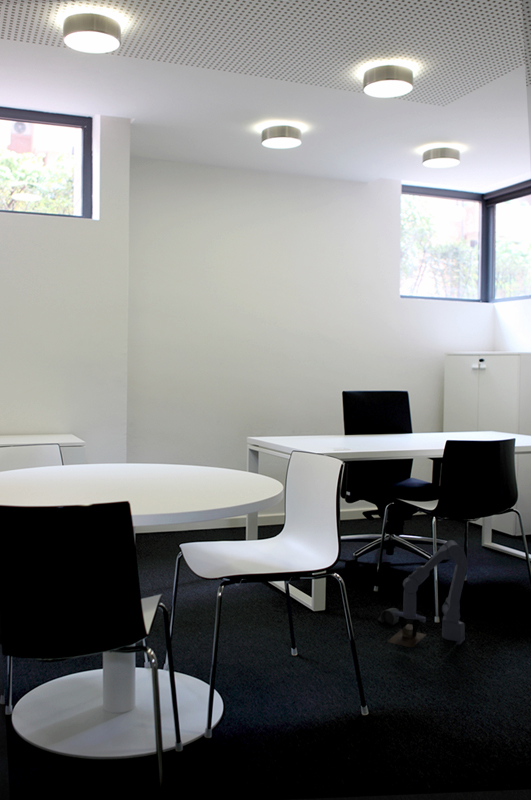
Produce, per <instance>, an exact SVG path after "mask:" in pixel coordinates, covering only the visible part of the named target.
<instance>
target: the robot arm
mask: <svg viewBox="0 0 531 800" xmlns="http://www.w3.org/2000/svg"><path fill="white" fill-rule="evenodd" d="M450 558H451V559H453V561H454V562H455V566H454V571H453V575H452V579H451V583H450V587H449V592H448V597H446V599H445V602H444V603H443V604H442V606H441V612H442V614H443V616H442V624H441V625H442V626H441V627H442V628H441V629H442V630H441V632H442V633H441V637H442V638H443V639H444V640H448V641H455V645H461V644H462V643H463V642H464V641H465V640H466V638H465V635H466V633H465V632H466V631H465V630H466V627H465V622H463V621H461V620H460V618H461V614H460V609H461V605H460V600H461V597H462V591H463V587H464V583H465V579H466V575H467V570H468V568H469V567H468V566H469V561H468V559H467V555H466V553H465V550H464V549H463V548H462V546H460V545H459V544H458V543H457V542H456V541H455V540H454V539H453V540H451V539H450V540H447V541H446V542H445V543H444V544H442V545H441V546H440V547H439V548H438V550H437V551H436V552H435V553H434V554H433V555H432V556H431V557H430V559H429V560H428V561H427V562H426V563H425V564H424V565H419V566H416V567H415V570H414V571H413V572H412V573H411V574H409V575H408V576H407V577H406V578H404V580H403V582H402V587H403V596H402V597H403V605H402V608H403V611H400V612H398V611H395V612H394V617H396V616H397V617H399V619H398V621H399V622H398V623H399V625H400V627H401V629H403V628H404V627H405V626H406V625H407V621H408V620H412V622H411V623H412V624H411V625H413V637H415V636H416V632H417V631H418V628H419V626H420V625H421V622H422V623H424V624H425V623H426V622H427V617H425V616H423V615H420V614H417V592H418V589H419V586H420V585H421V584H423V582H425V580H426V579H428V577H429V576H430V571H432V570H433V568H435V567H436V566H437V565H439V563H441V562H442V561H443V560H450ZM417 633H418V632H417Z"/></svg>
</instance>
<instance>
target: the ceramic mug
mask: <svg viewBox="0 0 531 800" xmlns="http://www.w3.org/2000/svg"><path fill="white" fill-rule="evenodd" d="M395 611H398V612H401V611H400V609H398V608H396V607H391V608H388V609H384V610H382V611H381V613H380V616H379V617H378V618H377V621H379V622H381V623H385V622H386V623H388V624H390V625H391V626H393V625H396V624H397V623H399V621H398V619H399V617H397V616H396V617H394V612H395Z"/></svg>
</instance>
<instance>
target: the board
mask: <svg viewBox="0 0 531 800" xmlns="http://www.w3.org/2000/svg"><path fill="white" fill-rule="evenodd" d="M426 636H427V634H425V633H422V632H416V636H415V637H413V638H412V639H407V638H403V637H402V628H401V629H400V630H398V631H397V632H396V633H395V634H394V635H393V636H392V637H390V638H389V639H388V640H387V641H386V642H387V643H390V644H395V645H399V646H404V647H408V648H412V649H413V648H414V647H415V646H417V644H418V643H419V642H420V641H422V640H423V639H424V638H425V637H426Z"/></svg>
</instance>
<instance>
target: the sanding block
mask: <svg viewBox="0 0 531 800" xmlns="http://www.w3.org/2000/svg"><path fill="white" fill-rule="evenodd" d="M401 629H402V628H401ZM402 637H403V638H407V639H412V638H413V625H412V624H410V623H406V626H405V627H404V628H403V629H402Z"/></svg>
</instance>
